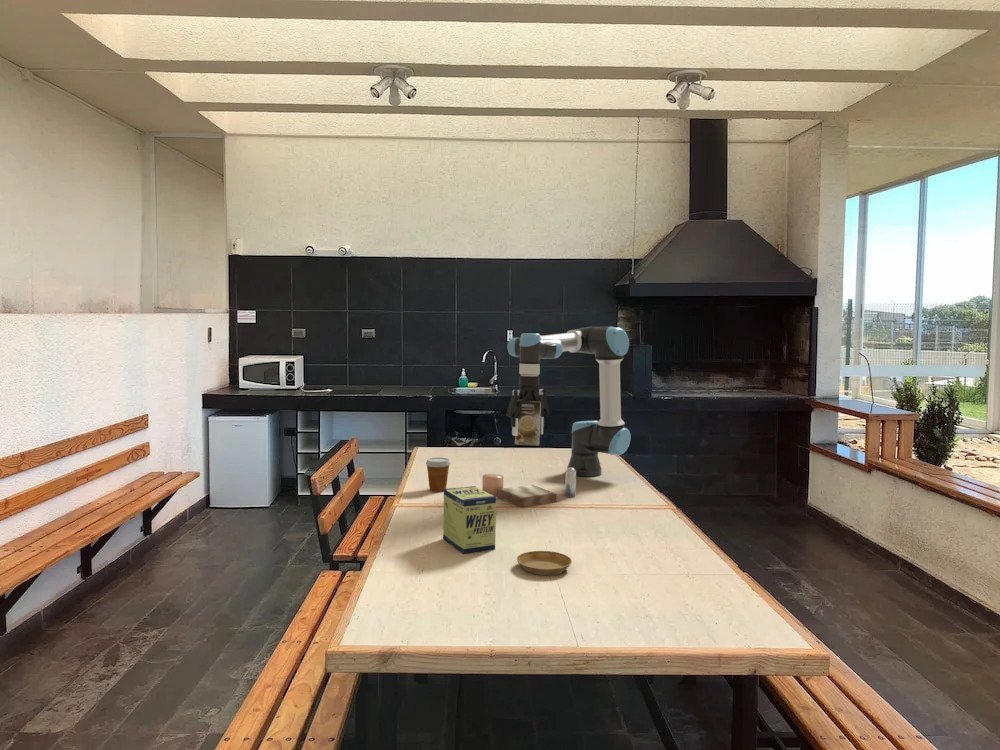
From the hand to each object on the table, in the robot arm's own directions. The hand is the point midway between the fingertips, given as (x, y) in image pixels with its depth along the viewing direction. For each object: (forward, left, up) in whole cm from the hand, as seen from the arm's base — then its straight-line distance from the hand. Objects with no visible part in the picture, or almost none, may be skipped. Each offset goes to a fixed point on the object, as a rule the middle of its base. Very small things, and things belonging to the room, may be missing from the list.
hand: (527, 434), depth 258 cm
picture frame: (0, 0, -24) cm, 24 cm away
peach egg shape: (+7, -13, -24) cm, 28 cm away
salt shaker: (-18, +3, -24) cm, 30 cm away
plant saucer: (+36, +63, -25) cm, 77 cm away
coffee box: (0, 0, -4) cm, 4 cm away
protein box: (+44, +36, -25) cm, 62 cm away
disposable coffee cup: (+23, -28, -24) cm, 44 cm away
